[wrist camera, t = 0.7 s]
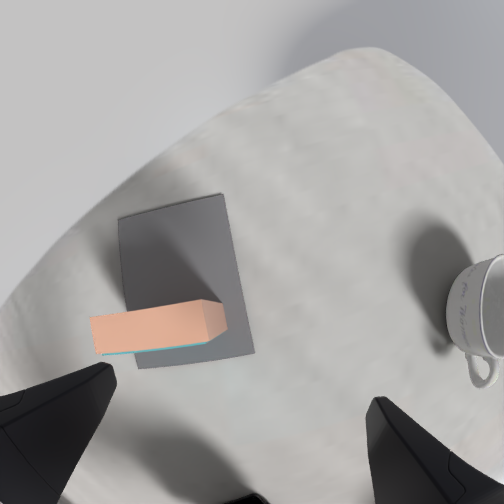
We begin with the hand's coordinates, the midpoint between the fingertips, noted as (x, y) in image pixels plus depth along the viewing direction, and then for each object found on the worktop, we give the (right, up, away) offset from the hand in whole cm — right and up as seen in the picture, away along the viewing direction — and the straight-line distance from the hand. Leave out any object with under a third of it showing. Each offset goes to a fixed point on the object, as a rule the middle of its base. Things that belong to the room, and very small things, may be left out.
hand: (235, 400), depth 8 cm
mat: (-7, +2, +19) cm, 20 cm away
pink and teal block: (-6, -2, +17) cm, 19 cm away
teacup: (+26, -4, +17) cm, 31 cm away
